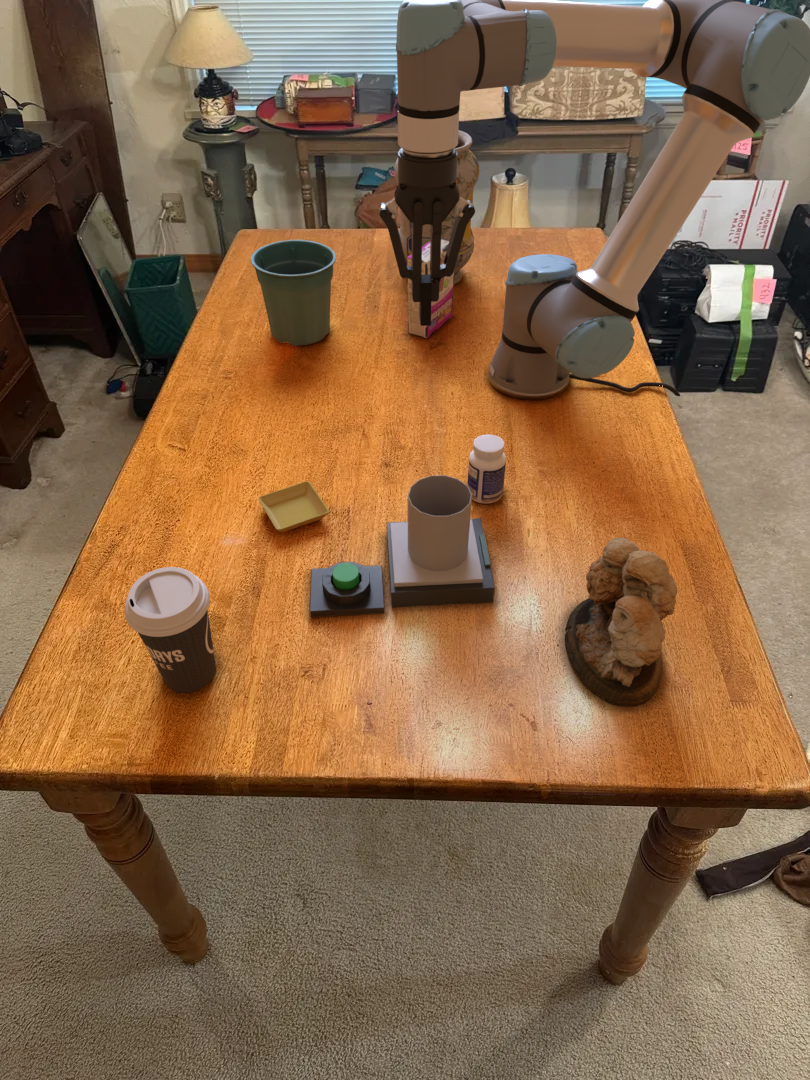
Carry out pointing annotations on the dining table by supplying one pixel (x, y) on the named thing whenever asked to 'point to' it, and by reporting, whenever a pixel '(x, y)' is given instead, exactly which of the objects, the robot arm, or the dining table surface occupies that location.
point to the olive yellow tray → (293, 506)
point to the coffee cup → (174, 626)
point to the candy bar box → (439, 309)
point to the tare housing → (346, 593)
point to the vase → (465, 185)
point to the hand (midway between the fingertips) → (424, 321)
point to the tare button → (345, 576)
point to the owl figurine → (622, 624)
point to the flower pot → (296, 289)
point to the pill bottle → (487, 469)
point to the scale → (439, 573)
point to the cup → (438, 522)
